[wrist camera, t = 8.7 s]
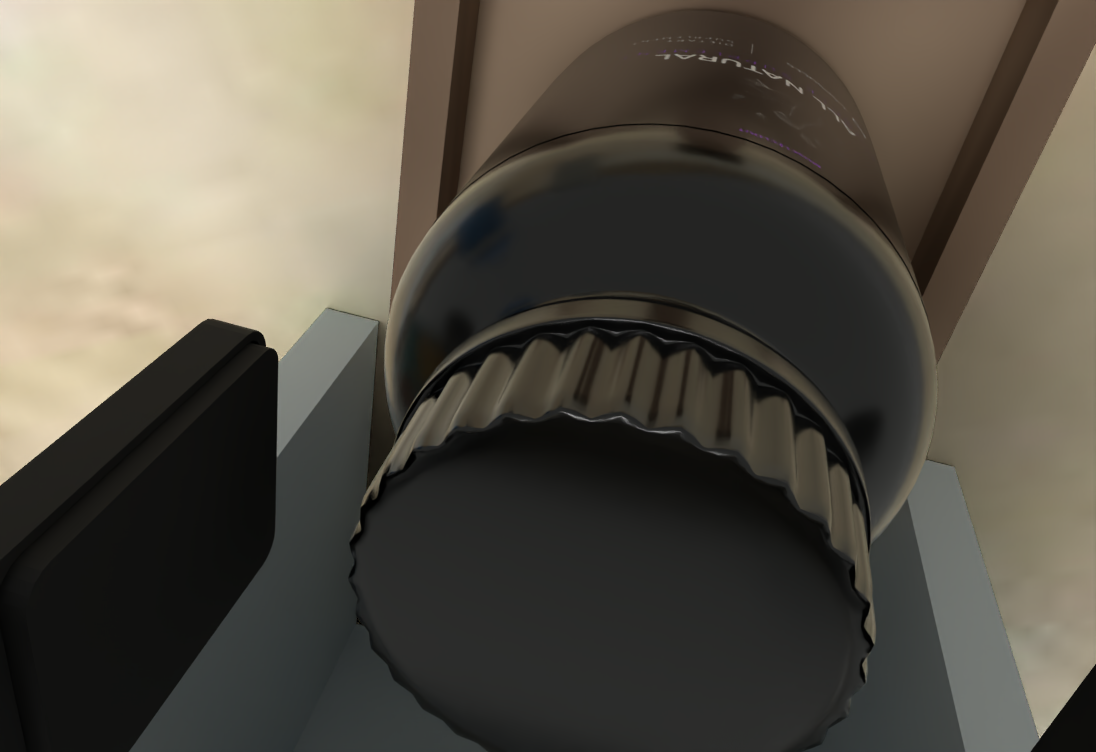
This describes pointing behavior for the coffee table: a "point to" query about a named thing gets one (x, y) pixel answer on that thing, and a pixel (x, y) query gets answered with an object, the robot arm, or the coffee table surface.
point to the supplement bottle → (651, 409)
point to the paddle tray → (844, 44)
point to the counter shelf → (433, 748)
